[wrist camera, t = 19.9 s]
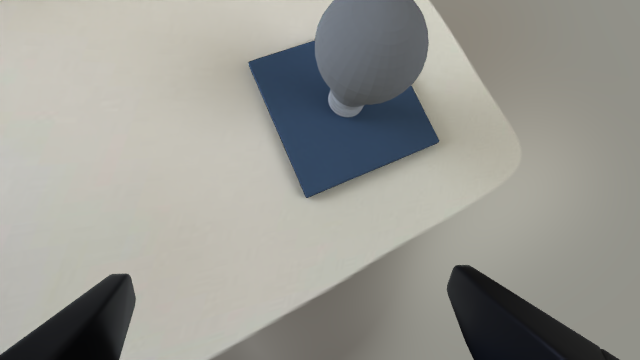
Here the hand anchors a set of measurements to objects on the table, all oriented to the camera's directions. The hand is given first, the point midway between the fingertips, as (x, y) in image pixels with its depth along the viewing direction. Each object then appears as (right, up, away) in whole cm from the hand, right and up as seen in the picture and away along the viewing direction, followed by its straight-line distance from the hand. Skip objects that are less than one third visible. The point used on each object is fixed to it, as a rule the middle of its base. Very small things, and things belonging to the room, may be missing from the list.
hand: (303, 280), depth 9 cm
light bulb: (+2, +8, +15) cm, 18 cm away
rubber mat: (+2, +9, +16) cm, 18 cm away
